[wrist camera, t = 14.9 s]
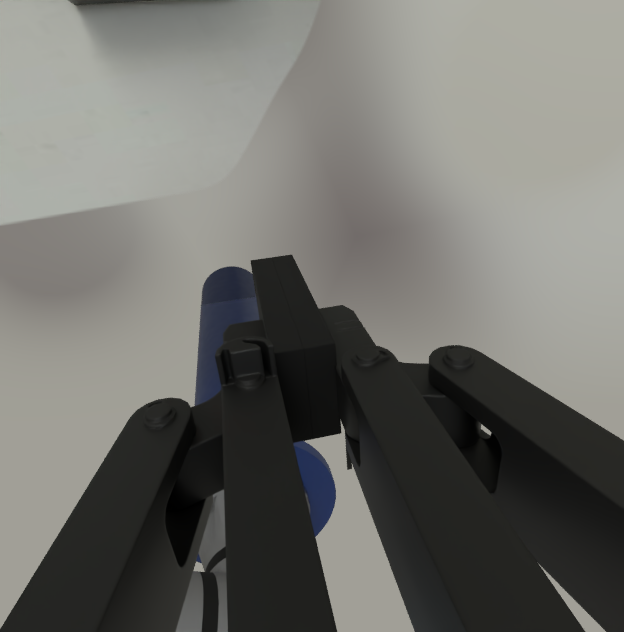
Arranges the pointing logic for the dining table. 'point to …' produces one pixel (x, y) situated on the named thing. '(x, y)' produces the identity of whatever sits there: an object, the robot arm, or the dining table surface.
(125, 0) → the switch base
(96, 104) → the dining table surface
